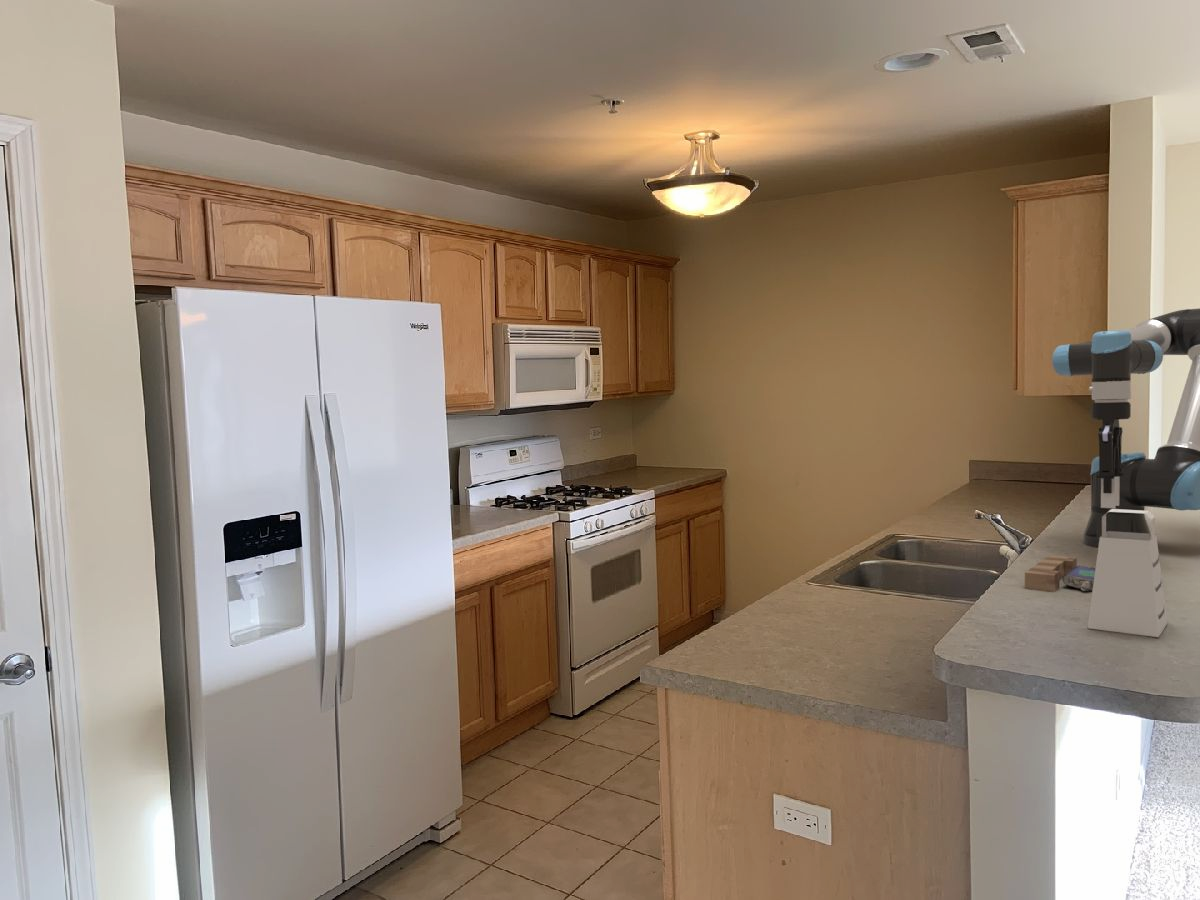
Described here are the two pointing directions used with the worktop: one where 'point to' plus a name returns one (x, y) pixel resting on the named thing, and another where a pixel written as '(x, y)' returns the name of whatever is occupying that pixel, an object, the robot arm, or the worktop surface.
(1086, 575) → the flask
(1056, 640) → the worktop surface
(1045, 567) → the holder
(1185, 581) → the worktop surface
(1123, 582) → the grater
